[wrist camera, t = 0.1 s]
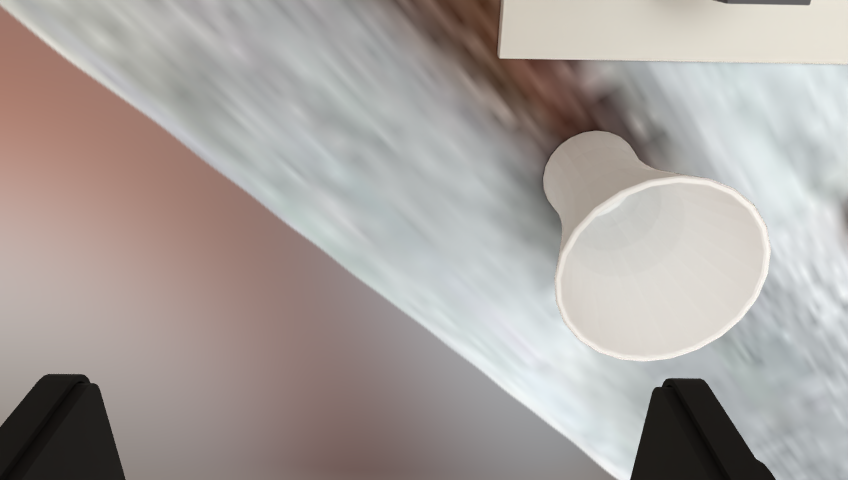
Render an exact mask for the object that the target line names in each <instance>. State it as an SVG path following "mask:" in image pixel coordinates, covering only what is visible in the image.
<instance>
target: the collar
mask: <svg viewBox="0 0 848 480" xmlns="http://www.w3.org/2000/svg"><path fill="white" fill-rule="evenodd" d="M714 1H718V2H722V3H726V4H766V5H810V2H811V0H714Z"/></svg>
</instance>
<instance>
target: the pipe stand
mask: <svg viewBox="0 0 848 480" xmlns="http://www.w3.org/2000/svg"><path fill="white" fill-rule="evenodd" d="M497 55H498V57H499V58H508V59H567V60H626V61H685V62H745V63H804V64H848V0H811V2H810V5H766V4H726V3H722V2H718V1H714V0H501V10H500V23H499V37H498V51H497Z"/></svg>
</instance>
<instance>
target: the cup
mask: <svg viewBox="0 0 848 480" xmlns="http://www.w3.org/2000/svg"><path fill="white" fill-rule="evenodd" d="M543 185H544V191H545V194H546V197H547V199H548V201H549V202H550V204H551V205H552V206H553V207H554V209H555V210H556V211H557V212H558V214H559V216H560V219H561V222H562V238H561V245H560V252H559V258H558V263H557V268H556V273H555V278H554V279H555V296H556V303H557V306H558V308H559V311H560V313H561V316H562V318H563V321H564V323H565V324H566V325H567V326H568V328H569V329H570V330H571V331H572V332H573V334H574V335H575V336H576V337H577V338H578V339H579V340H580V341H582V342H583V343H585V344H586V345H588V346H589V347H591V348H593V349H594V350H596V351H597V352H600V353H603V354H606V355H609V356H612V357H615V358H618V359H623V360H635V361H653V360H661V359H669V358H674V357H677V356H680V355H683V354H686V353H689V352H692V351H695V350H698V349H699V348H701V347H703V346H705V345H706V344H708V343H710V342H712V341H714V340H715V339H717V338H719V337H721V336H722V335H723V334H724V333H725V332H727V331H728V330H729V329H730V328H731V327H732V326H734V325H735V324H736V323H737V322H738V321H739V320H741V319H742V317H743V316H744V315H745V314H746V312H747V311H748V310H749V308H750V307H751V306H752V304H753V303H754V302H755V300H756V299H757V298H758V295H759V293H760V291H761V288H762V286H763V284H764V281H765V279H766V277H767V275H768V267H769V260H770V252H771V247H770V242H769V237H768V231H767V226H766V224H765V222H764V221H763V219H762V217H761V216H760V214H759V212H758V211H757V209H756V207H755V205H754V204H752V203H751V202H750V201H749V200H748V199H746V198H745V197H744V196H743V195H742V194H740V193H739V192H738V191H737V190H736V189H734V188H732V187H729V186H727V185H724V184H722V183H719V182H717V181H714V180H712V179H708V178H702V177H695V176H688V175H682V174H677V173H672V172H666V171H661V170H656V169H654V168H651V167H649V166H647V165H645V164H644V163H643V162H641V161H640V160H639V159H638V157H637V155H636V154H635V152H634V151H633V149H632V148H631V146H630V145H629V144H628V143H627V142H626V141H625V140H623V139H622V138H621V137H620V136H617V135H615V134H612V133H610V132H604V131H590V132H583V133H581V134H578V135H576V136H573V137H571V138H569V139H568V140H567V141H565V142H564V143H562V144H561V145H560V146H559V147H558V148H557V149H556V150H555V151H554V153H553V154H552V155H551V157H550V159H549V161H548V163H547V164H546V167H545V171H544V176H543Z"/></svg>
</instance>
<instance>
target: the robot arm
mask: <svg viewBox="0 0 848 480" xmlns="http://www.w3.org/2000/svg"><path fill="white" fill-rule="evenodd" d="M0 480H125V476H124V473H123V469H122V466H121V462H120V458H119V455H118V451H117V448H116V444H115V441H114V438H113V434H112V431H111V427H110V423H109V420H108V416H107V413H106V410H105V406H104V402H103V399H102V396H101V392H100V389H99V387H98V385H96V384H94V383H90V381H89V379H88V378H87V377H86V376H85V375H82V374H48V375H45V376H43V377H42V378H41V379H40V380H39V381H38V382H37V383H36V384H35V386H34V387H33V388H32V389H31V391H30V392H29V393H28V394H27V395H26V396H25V398H24V399H23V400H22V401H21V402H20V404H19V405H18V406H17V407H16V409H15V410H14V411H13V412H12V413H11V415H10V416H9V417H8V418H7V419H6V421H5V422H4V423H3V424H2V426H1V427H0ZM630 480H776V479H775V478H774V476H773V475H772V473H771V472H770V471H769V469H768V468H767V467H766V466H765V465H764V464H763V463H762V462H760V461H758V460H757V459H756V458H755V457H754V455H753V454H752V452H751V451H750V449H749V448H748V446H747V444H746V443H745V441H744V440H743V438H742V437H741V435H740V434H739V432H738V431H737V429H736V427H735V426H734V424H733V423H732V421H731V420H730V418H729V417H728V415H727V414H726V412H725V410H724V409H723V407H722V406H721V404H720V403H719V401H718V400H717V398H716V397H715V395H714V393H713V392H712V390H711V389H710V387H709V386H708V384H707V383H706V382H705V381H704V380H702V379H683V378H669V379H666V380H665V381H664V383H663V385H662V387H655V389H654V390H653V392H652V396H651V400H650V404H649V408H648V412H647V416H646V419H645V423H644V427H643V431H642V435H641V439H640V443H639V447H638V451H637V455H636V459H635V463H634V467H633V471H632V475H631V479H630Z"/></svg>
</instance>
